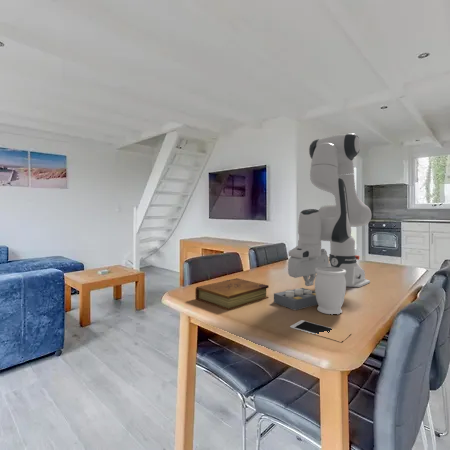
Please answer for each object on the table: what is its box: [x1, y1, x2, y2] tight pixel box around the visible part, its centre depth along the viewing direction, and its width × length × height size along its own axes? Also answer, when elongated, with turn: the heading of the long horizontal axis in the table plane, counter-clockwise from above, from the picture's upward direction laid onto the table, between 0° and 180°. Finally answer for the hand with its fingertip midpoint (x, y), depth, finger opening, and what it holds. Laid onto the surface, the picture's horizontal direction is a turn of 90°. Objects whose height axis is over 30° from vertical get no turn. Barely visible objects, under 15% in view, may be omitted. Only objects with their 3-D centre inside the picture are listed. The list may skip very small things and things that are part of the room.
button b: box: [304, 289, 313, 294], centre depth 120 cm, size 3×3×3 cm
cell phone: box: [289, 319, 332, 335], centre depth 90 cm, size 8×16×1 cm, turn 48°
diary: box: [194, 278, 269, 311], centre depth 123 cm, size 23×19×6 cm
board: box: [273, 287, 319, 311], centre depth 117 cm, size 16×11×4 cm
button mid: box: [294, 288, 303, 296], centre depth 117 cm, size 3×3×3 cm
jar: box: [314, 267, 347, 316], centre depth 108 cm, size 11×10×15 cm
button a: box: [285, 289, 294, 298], centre depth 115 cm, size 3×3×3 cm
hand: (309, 285), depth 120 cm, fingers closed
